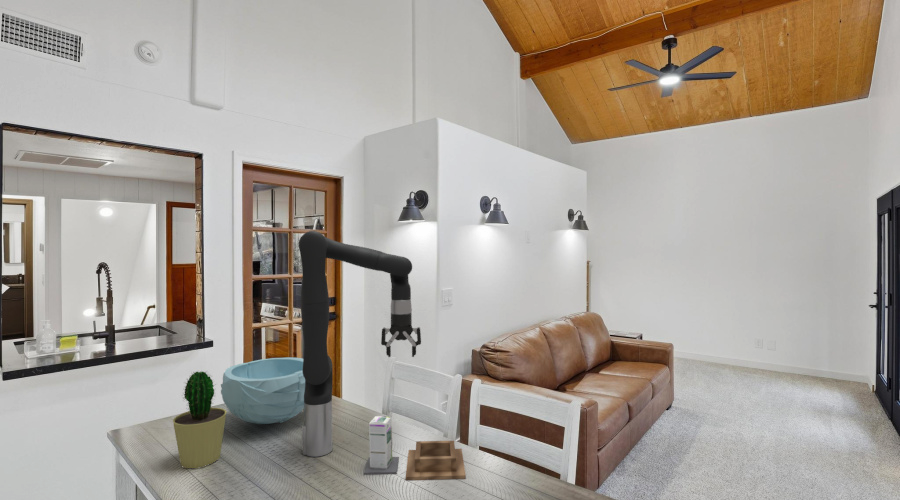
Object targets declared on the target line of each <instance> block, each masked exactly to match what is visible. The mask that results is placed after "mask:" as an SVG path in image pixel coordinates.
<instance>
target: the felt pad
mask: <svg viewBox="0 0 900 500" xmlns="http://www.w3.org/2000/svg"><path fill="white" fill-rule="evenodd" d="M399 460H400V457H399V456H392V462H391V463H390V465H389V466H388V468H387V469H378V468H371V467H370V456H369V457H368V458H367V461H366V465H365V468H364V471H363V475H397V473H398V467H399V462H400V461H399Z"/></svg>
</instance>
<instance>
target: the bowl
mask: <svg viewBox="0 0 900 500" xmlns="http://www.w3.org/2000/svg"><path fill="white" fill-rule="evenodd" d="M303 359H304V358H302V357H291V356H290V357H270V358H263V359H258V360H257V359H256V360H253V361H248V362H243V363H238V364H235V365H232V366H230V367H227V368H226V369H225V371H224V372H223V375H222V383H221V384H220V388H221V389H220V394H221V397H222V400H223V402H224V405H225V406H226V408H227V410H228V411H229V412H230V413H232V414H233V415H234V416H235V417H237V418H238V419H241V420H242V421H244V422H246V423H251V424H256V425H265V424H266V425H269V424H277V423H281V424H282V423H284V422H287V421H288V420H290V419H292V418H293V417H296V416H297V415H298V414H300V413H301V412H302V411H304V392H305V378H304V376H303V371H302V370H303Z"/></svg>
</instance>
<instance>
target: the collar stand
mask: <svg viewBox="0 0 900 500" xmlns="http://www.w3.org/2000/svg"><path fill="white" fill-rule="evenodd" d="M455 447H456V446H455V440H427V441H426V440H424V441H423V440H422V441H419V440H418V441H415V449H408V452H407V462H406V472H405V481H427V480H429V481H430V480H431V481H432V480H433V481H434V480H435V481H436V480H466V476H467V475H466V469H465V462H464V457H463V456H464V455H463V450H462V448H455Z"/></svg>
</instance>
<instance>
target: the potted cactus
mask: <svg viewBox="0 0 900 500" xmlns="http://www.w3.org/2000/svg"><path fill="white" fill-rule="evenodd" d="M212 377H213V375H210V374H208V370H205V371H202V370H201V371H194V372H191V375H190V376H189V379H188V378H187V381H184V384H185V386H184V392H182V394H183V396H184V397H183V396H182V402H185V401H186V402H187V403H186V405H188V407H186V410H187V411H185V412H183V413H180V414H178V415H176V416H175V417H174V418H173V420H172V422H173V429H174V434H175V439H176V445H177V451H178V457H179V463H180V466H181V465H182V466H183V467H185V468H184V469H186V468H197V469H199V468H198V467H202V468H204V467H203V466H205V465H208V464H211V463H213V462H215V461H216V460H217V459H220V458H219V457H221V452H222V445H223V440H224V439H223V437H224V431H225V424H226V417H227V412H228V411H227V410H226V409H225V408H221V407H212V404H213V401H214V400H215V399H214V398H213V397H214V396H215V394H216V392H215V388H214V386H216V385H217V383H216V384H215V383H214V381H213V379H212ZM184 400H185V401H184ZM216 462H217V461H216ZM216 462H215V463H216ZM213 464H214V463H213ZM211 465H212V464H211ZM182 466H181V467H182ZM183 467H182V468H183Z"/></svg>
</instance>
